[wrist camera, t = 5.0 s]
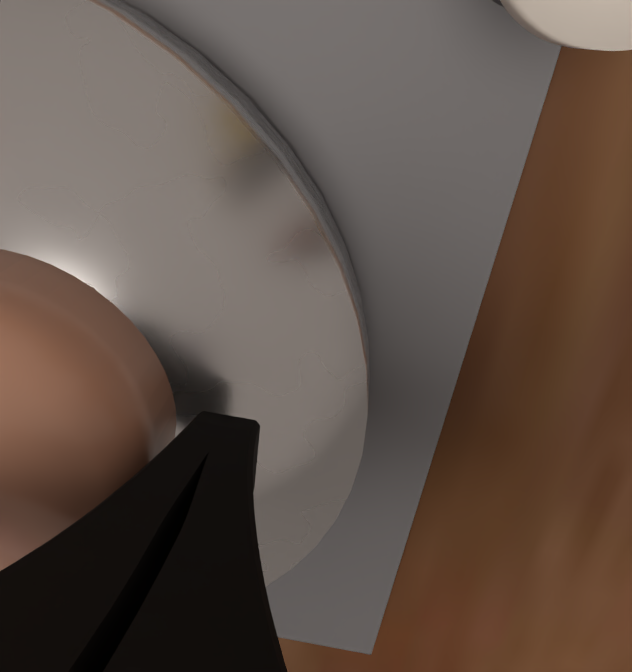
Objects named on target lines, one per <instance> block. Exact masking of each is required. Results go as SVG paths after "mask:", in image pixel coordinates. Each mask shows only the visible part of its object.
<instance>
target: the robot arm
mask: <svg viewBox="0 0 632 672" xmlns="http://www.w3.org/2000/svg"><path fill="white" fill-rule="evenodd" d="M259 434H260V425H259V423H258V422H257V421H256V420H252V419H246V418H241V417H235V416H229V415H224V414H218V413H212V412H206V411H202V412H201V413H199V414H198V415H197V416H196V417H195V418H194V419H193V420H192V421H191V422H190V423H189V424H188V425H187V426H186V427H185V428H184V429H183V430H182V431H181V432H180V433H179V434H178V435H177V436H176V437H175V438H174V439H173V440H172V441H171V442H170V443H169V444H168V445H167V446H166V447H165V448H164V449H163V450H162V451H161V452H160V453H159V454H157V455H156V456H155V457H154V458H153V459H152V460H151V461H150V462H149V463H148V464H146V465H145V466H144V467H143V468H142V469H141V470H140V471H139V472H138V473H136V474H135V475H134V476H133V477H132V478H131V479H129V480H128V481H127V482H126V483H125V484H123V485H122V486H121V487H120V488H118V489H117V490H116V491H115V492H114V493H112V494H111V495H110V496H109V497H107V498H106V499H105V500H104V501H103V502H101V503H100V504H99V505H98V506H96V507H95V508H94V509H92V510H91V511H90V512H88V513H87V514H86V515H84V516H83V517H82V518H80V519H79V520H77V521H76V522H75V523H73V524H72V525H71V526H69V527H68V528H66V529H65V530H63V531H62V532H60V533H59V534H58V535H56V536H55V537H53V538H52V539H50V540H49V541H47V542H46V543H44V544H43V545H41V546H39V547H38V548H36V549H35V550H33V551H32V552H30V553H28V554H27V555H25V556H24V557H22V558H21V559H19V560H17V561H16V562H14V563H13V564H11V565H9V566H8V567H6V568H4V569H3V570H1V571H0V672H287V669H286V666H285V662H284V659H283V655H282V651H281V648H280V644H279V640H278V636H277V633H276V629H275V625H274V621H273V617H272V614H271V609H270V605H269V600H268V596H267V591H266V586H265V582H264V576H263V571H262V565H261V559H260V553H259V546H258V539H257V531H256V522H255V512H254V495H253V492H254V487H255V477H256V466H257V455H258V445H259Z"/></svg>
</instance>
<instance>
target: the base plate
mask: <svg viewBox="0 0 632 672" xmlns="http://www.w3.org/2000/svg"><path fill="white" fill-rule="evenodd" d="M120 1H122V2H124V3H126V4H128V5H129V6H131V7H133V8H135V9H137V10H139V11H141V12H142V13H144V14H146V15H147V16H149V17H150V18H151V19H153V20H154V21H156V22H157V23H158V24H160V25H161V26H163V27H164V28H165V29H167V30H168V31H170V32H171V33H172V34H174V35H175V36H177V37H178V38H179V39H181V40H182V41H183V42H185V43H186V44H188V45H189V46H190V47H192V48H193V49H195V50H196V51H197V52H199V53H200V54H201V55H202V56H203V57H205V58H206V59H207V60H208V61H209V62H210V63H211V64H212V65H213V66H214V67H215V68H216V69H218V70H219V71H220V72H221V73H222V74H223V75H224V76H225V77H226V78H227V79H228V80H229V81H231V82H232V83H233V84H234V85H235V86H236V87H237V88H238V89H239V90H240V91H241V92H242V93H244V94H245V95H246V96H247V97H248V98H249V99H250V100H251V102H252V103H253V104H254V105H255V106H256V107H257V109H258V110H259V111H260V112H261V113H262V115H263V116H264V117H265V118H266V119H267V120H268V122H269V123H270V124H271V125H272V126H273V128H274V129H275V130H276V131H277V132H278V133H279V135H280V136H281V137H282V138H283V139H284V140H285V142H286V143H287V144H288V145H289V147H290V148H291V150H292V151H293V153H294V154H295V156H296V157H297V159H298V160H299V162H300V163H301V165H302V166H303V168H304V169H305V171H306V172H307V174H308V175H309V177H310V179H311V180H312V182H313V183H314V185H315V186H316V188H317V189H318V191H319V192H320V194H321V195H322V197H323V200H324V202H325V204H326V206H327V208H328V210H329V212H330V214H331V216H332V218H333V220H334V222H335V224H336V226H337V228H338V230H339V232H340V234H341V237H342V239H343V241H344V243H345V245H346V248H347V251H348V254H349V257H350V260H351V263H352V267H353V270H354V273H355V276H356V279H357V282H358V285H359V288H360V291H361V296H362V302H363V307H364V313H365V319H366V324H367V330H368V336H369V372H370V379H369V398H368V416H367V424H366V431H365V439H364V446H363V454H362V458H361V461H360V464H359V467H358V470H357V474H356V477H355V480H354V483H353V486H352V490H351V492H350V494H349V496H348V498H347V499H346V501H345V503H344V505H343V507H342V509H341V511H340V513H339V515H338V517H337V519H336V521H335V522H334V523H333V525H332V526H331V527H330V529H329V530H328V531H327V532H326V534H325V535H324V536H323V538H322V539H321V540H320V542H319V543H318V544H317V546H316V547H315V548H314V549H313V550H312V551H310V552H309V553H308V554H307V555H306V556H305V557H304V558H303V559H302V560H301V561H300V562H299V563H298V564H297V565H296V566H294V567H293V568H292V569H291V570H289V571H288V572H286V573H285V574H284V575H282V576H281V577H279V578H278V579H276V580H275V581H273V582H272V583H270V584H269V585H267V586H266V591H267V596H268V600H269V605H270V609H271V614H272V617H273V621H274V625H275V629H276V633H277V636H278V637H280V638H285V639H291V640H296V641H301V642H306V643H312V644H317V645H322V646H328V647H333V648H338V649H344V650H349V651H354V652H359V653H365V654H370V655H371V653H372V650H373V647H374V644H375V640H376V637H377V634H378V631H379V628H380V624H381V621H382V618H383V615H384V612H385V608H386V605H387V602H388V599H389V596H390V592H391V589H392V586H393V583H394V580H395V576H396V573H397V570H398V567H399V564H400V561H401V557H402V554H403V551H404V548H405V545H406V541H407V538H408V535H409V532H410V529H411V525H412V522H413V519H414V516H415V513H416V509H417V506H418V503H419V500H420V497H421V493H422V490H423V487H424V484H425V481H426V477H427V474H428V471H429V468H430V465H431V461H432V458H433V455H434V452H435V449H436V445H437V442H438V439H439V436H440V433H441V429H442V426H443V423H444V420H445V417H446V413H447V410H448V407H449V404H450V401H451V398H452V394H453V391H454V388H455V385H456V382H457V378H458V375H459V372H460V369H461V366H462V362H463V359H464V356H465V353H466V350H467V346H468V343H469V340H470V337H471V334H472V330H473V327H474V324H475V321H476V318H477V314H478V311H479V308H480V305H481V302H482V298H483V295H484V292H485V289H486V286H487V282H488V279H489V276H490V273H491V270H492V266H493V263H494V260H495V257H496V254H497V251H498V247H499V244H500V241H501V238H502V235H503V231H504V228H505V225H506V222H507V219H508V215H509V212H510V209H511V206H512V203H513V199H514V196H515V193H516V190H517V187H518V183H519V180H520V177H521V174H522V171H523V167H524V164H525V161H526V158H527V155H528V151H529V148H530V145H531V142H532V139H533V135H534V132H535V129H536V126H537V123H538V119H539V116H540V113H541V110H542V107H543V104H544V100H545V97H546V94H547V91H548V88H549V84H550V81H551V78H552V75H553V72H554V68H555V65H556V62H557V59H558V56H559V52H560V49H561V46H565V47H569V48H579V49H591V50H605V51H621V50H632V0H120Z"/></svg>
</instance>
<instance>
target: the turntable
mask: <svg viewBox="0 0 632 672" xmlns="http://www.w3.org/2000/svg"><path fill="white" fill-rule="evenodd" d="M0 249H3V250H8V251H12V252H15V253H19V254H23V255H27V256H30V257H33V258H35V259H38V260H41V261H43V262H46V263H49V264H51V265H53V266H55V267H57V268H59V269H61V270H63V271H65V272H67V273H69V274H71V275H73V276H75V277H76V278H78V279H79V280H81V281H82V282H84V283H86V284H87V285H89V286H90V287H92V288H94V289H95V290H96V291H97V292H99V293H100V294H101V295H103V296H104V297H105V298H106V299H108V300H109V301H110V302H111V303H113V304H114V305H115V306H116V307H117V308H118V309H119V310H120V311H121V312H122V313H123V314H124V315H125V316H126V317H127V318H128V319H129V320H130V321H131V322H132V323H133V324H134V325H135V327H136V328H137V329H138V330H139V331H140V332H141V334H142V335H143V336H144V337H145V339H146V340H147V342H148V343H149V345H150V346H151V348H152V349H153V351H154V352H155V354H156V355H157V357H158V359H159V361H160V363H161V365H162V367H163V369H164V371H165V373H166V375H167V378H168V381H169V383H170V386H171V389H172V392H173V397H174V402H175V407H176V433H175V437H176V436H177V435H178V434H179V433H180V432H181V431H182V430H183V429H184V428H185V427H186V426H187V425H188V424H189V423H190V422H191V421H192V420H193V419H194V418H195V417H196V416H197V415H198V414H199V413H201V412H202V411H206V412H212V413H218V414H224V415H229V416H235V417H241V418H246V419H252V420H256V421H257V422H258V423H259V425H260V434H259V445H258V455H257V466H256V477H255V487H254V492H253V495H254V512H255V522H256V531H257V539H258V546H259V553H260V559H261V565H262V571H263V576H264V582H265V586H267V585H269V584H270V583H272V582H273V581H275V580H276V579H278V578H279V577H281V576H282V575H284V574H285V573H286V572H288V571H289V570H291V569H292V568H293V567H294V566H296V565H297V564H298V563H299V562H300V561H301V560H302V559H303V558H304V557H305V556H306V555H307V554H308V553H309V552H310V551H312V550H313V549H314V548H315V547H316V546H317V544H318V543H319V542H320V540H321V539H322V538H323V536H324V535H325V534H326V532H327V531H328V530H329V529H330V527H331V526H332V525H333V523H334V522H335V521H336V519H337V517H338V515H339V513H340V511H341V509H342V507H343V505H344V503H345V501H346V499H347V498H348V496H349V494H350V492H351V490H352V486H353V483H354V480H355V477H356V474H357V470H358V467H359V464H360V461H361V458H362V454H363V446H364V439H365V431H366V424H367V416H368V398H369V379H370V372H369V336H368V330H367V324H366V319H365V313H364V307H363V302H362V296H361V291H360V288H359V285H358V282H357V279H356V276H355V273H354V270H353V267H352V263H351V260H350V257H349V254H348V251H347V248H346V245H345V243H344V241H343V239H342V237H341V234H340V232H339V230H338V228H337V226H336V224H335V222H334V220H333V218H332V216H331V214H330V212H329V210H328V208H327V206H326V204H325V202H324V200H323V197H322V195H321V194H320V192H319V191H318V189H317V188H316V186H315V185H314V183H313V182H312V180H311V179H310V177H309V175H308V174H307V172H306V171H305V169H304V168H303V166H302V165H301V163H300V162H299V160H298V159H297V157H296V156H295V154H294V153H293V151H292V150H291V148H290V147H289V145H288V144H287V143H286V142H285V140H284V139H283V138H282V137H281V136H280V135H279V133H278V132H277V131H276V130H275V129H274V128H273V126H272V125H271V124H270V123H269V122H268V120H267V119H266V118H265V117H264V116H263V115H262V113H261V112H260V111H259V110H258V109H257V107H256V106H255V105H254V104H253V103H252V102H251V100H250V99H249V98H248V97H247V96H246V95H245V94H244V93H242V92H241V91H240V90H239V89H238V88H237V87H236V86H235V85H234V84H233V83H232V82H231V81H229V80H228V79H227V78H226V77H225V76H224V75H223V74H222V73H221V72H220V71H219V70H218V69H216V68H215V67H214V66H213V65H212V64H211V63H210V62H209V61H208V60H207V59H206V58H205V57H203V56H202V55H201V54H200V53H199V52H197V51H196V50H195V49H193V48H192V47H190V46H189V45H188V44H186V43H185V42H183V41H182V40H181V39H179V38H178V37H177V36H175V35H174V34H172V33H171V32H170V31H168V30H167V29H165V28H164V27H163V26H161V25H160V24H158V23H157V22H156V21H154V20H153V19H151V18H150V17H149V16H147V15H146V14H144V13H142V12H141V11H139V10H137V9H135V8H133V7H131V6H129V5H128V4H126V3H124V2H122V1H120V0H0Z"/></svg>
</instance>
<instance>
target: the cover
mask: <svg viewBox="0 0 632 672" xmlns="http://www.w3.org/2000/svg"><path fill="white" fill-rule="evenodd" d="M175 433H176V407H175V402H174V397H173V392H172V389H171V386H170V383H169V381H168V378H167V375H166V373H165V371H164V369H163V367H162V365H161V363H160V361H159V359H158V357H157V355H156V354H155V352H154V351H153V349H152V348H151V346H150V345H149V343H148V342H147V340H146V339H145V337H144V336H143V335H142V334H141V332H140V331H139V330H138V329H137V328H136V327H135V325H134V324H133V323H132V322H131V321H130V320H129V319H128V318H127V317H126V316H125V315H124V314H123V313H122V312H121V311H120V310H119V309H118V308H117V307H116V306H115V305H114V304H113V303H111V302H110V301H109V300H108V299H106V298H105V297H104V296H103V295H101V294H100V293H99V292H97V291H96V290H95V289H94V288H92V287H90V286H89V285H87V284H86V283H84V282H82V281H81V280H79V279H78V278H76V277H75V276H73V275H71V274H69V273H67V272H65V271H63V270H61V269H59V268H57V267H55V266H53V265H51V264H49V263H46V262H43V261H41V260H38V259H35V258H33V257H30V256H27V255H23V254H19V253H15V252H12V251H8V250H3V249H0V571H1V570H3V569H4V568H6V567H8V566H9V565H11V564H13V563H14V562H16V561H17V560H19V559H21V558H22V557H24V556H25V555H27V554H28V553H30V552H32V551H33V550H35V549H36V548H38V547H39V546H41V545H43V544H44V543H46V542H47V541H49V540H50V539H52V538H53V537H55V536H56V535H58V534H59V533H60V532H62V531H63V530H65V529H66V528H68V527H69V526H71V525H72V524H73V523H75V522H76V521H77V520H79V519H80V518H82V517H83V516H84V515H86V514H87V513H88V512H90V511H91V510H92V509H94V508H95V507H96V506H98V505H99V504H100V503H101V502H103V501H104V500H105V499H106V498H107V497H109V496H110V495H111V494H112V493H114V492H115V491H116V490H117V489H118V488H120V487H121V486H122V485H123V484H125V483H126V482H127V481H128V480H129V479H131V478H132V477H133V476H134V475H135V474H136V473H138V472H139V471H140V470H141V469H142V468H143V467H144V466H145V465H146V464H148V463H149V462H150V461H151V460H152V459H153V458H154V457H155V456H156V455H157V454H159V453H160V452H161V451H162V450H163V449H164V448H165V447H166V446H167V445H168V444H169V443H170V442H171V441H172V440H173V439H174V438H175Z"/></svg>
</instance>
